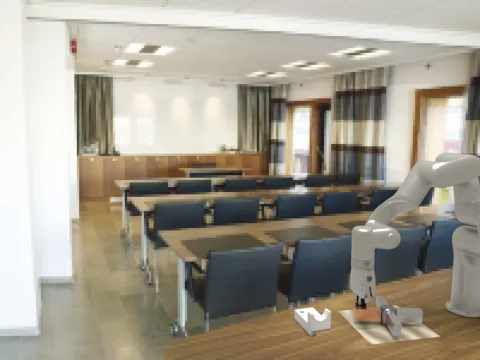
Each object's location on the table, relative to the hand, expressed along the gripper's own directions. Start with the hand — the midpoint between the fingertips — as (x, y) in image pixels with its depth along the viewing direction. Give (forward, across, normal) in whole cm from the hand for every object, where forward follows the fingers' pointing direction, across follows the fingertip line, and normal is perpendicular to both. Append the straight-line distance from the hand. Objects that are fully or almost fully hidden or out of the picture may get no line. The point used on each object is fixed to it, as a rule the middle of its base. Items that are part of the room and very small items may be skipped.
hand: (360, 314), depth 147 cm
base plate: (+3, -4, -7) cm, 9 cm away
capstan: (+2, -5, -7) cm, 9 cm away
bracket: (+4, +2, +17) cm, 18 cm away
